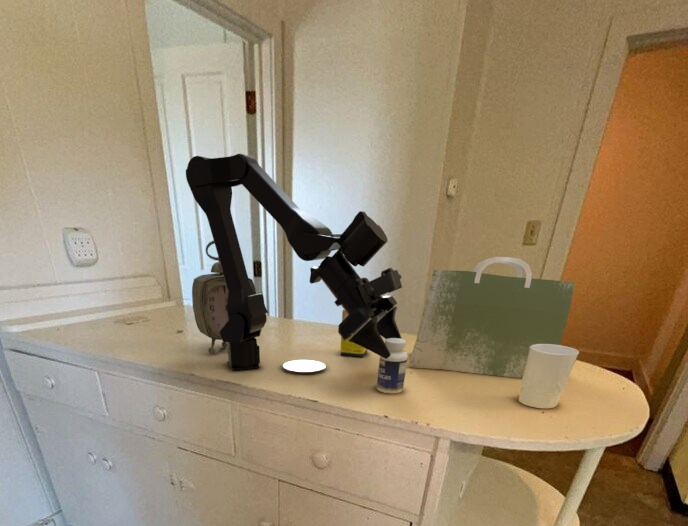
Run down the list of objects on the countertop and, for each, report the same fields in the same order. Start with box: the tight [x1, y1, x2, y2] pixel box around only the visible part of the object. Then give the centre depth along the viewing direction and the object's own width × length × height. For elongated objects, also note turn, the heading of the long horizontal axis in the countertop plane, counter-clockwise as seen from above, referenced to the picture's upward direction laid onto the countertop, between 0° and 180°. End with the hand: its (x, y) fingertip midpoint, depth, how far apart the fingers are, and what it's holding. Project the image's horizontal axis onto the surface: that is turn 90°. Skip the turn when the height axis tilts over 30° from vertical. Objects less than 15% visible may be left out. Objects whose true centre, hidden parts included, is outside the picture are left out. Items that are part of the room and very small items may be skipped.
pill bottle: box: [376, 338, 409, 395], centre depth 84 cm, size 5×5×10 cm
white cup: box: [518, 344, 580, 409], centre depth 79 cm, size 8×8×10 cm
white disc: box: [282, 359, 327, 376], centre depth 99 cm, size 10×10×1 cm
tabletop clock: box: [191, 240, 257, 355], centre depth 106 cm, size 14×9×25 cm, turn 120°
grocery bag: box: [409, 256, 576, 379], centre depth 96 cm, size 32×14×23 cm, turn 73°
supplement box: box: [340, 309, 369, 358], centre depth 108 cm, size 6×6×11 cm
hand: (395, 351), depth 83 cm, fingers open, 9 cm apart
